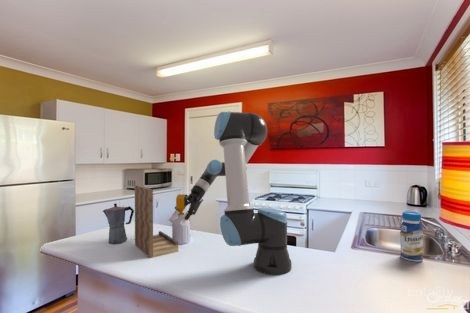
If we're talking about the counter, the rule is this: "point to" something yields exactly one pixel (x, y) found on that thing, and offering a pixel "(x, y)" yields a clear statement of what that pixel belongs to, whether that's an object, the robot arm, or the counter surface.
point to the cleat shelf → (149, 227)
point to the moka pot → (117, 223)
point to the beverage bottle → (411, 236)
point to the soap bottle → (178, 230)
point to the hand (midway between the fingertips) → (175, 222)
